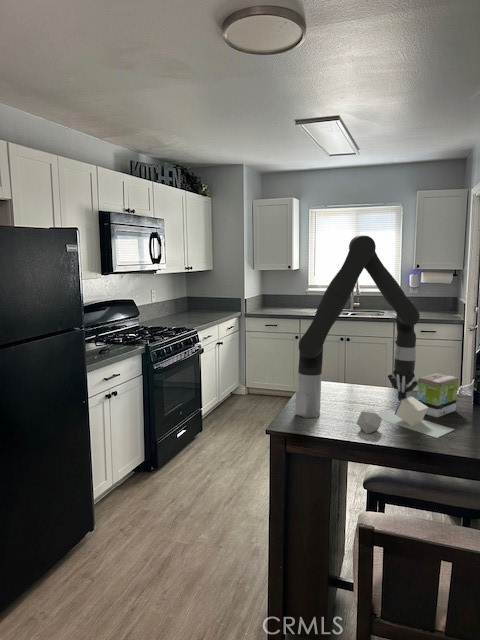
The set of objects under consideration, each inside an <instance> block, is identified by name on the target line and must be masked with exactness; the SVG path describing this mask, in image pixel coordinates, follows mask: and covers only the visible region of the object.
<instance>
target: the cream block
mask: <svg viewBox="0 0 480 640" xmlns="http://www.w3.org/2000/svg"><path fill="white" fill-rule="evenodd" d="M427 409H428V407H427V406H426V405H424V404H422V403H421V402H419V401H418V400H417V398H415V397H413V396H412V395H409V396H406V398H403V399H401V400H400V401H399V403H398V405H397V407H396V409H395V415H396V416H398V417H399V418H401V419H402V420H404V421H405V422H406V423H408V424H409V425H411V426H414V425H416V424H419V423H421V422H422V420H424V418H425V415H427V414H426V412H427Z"/></svg>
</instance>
